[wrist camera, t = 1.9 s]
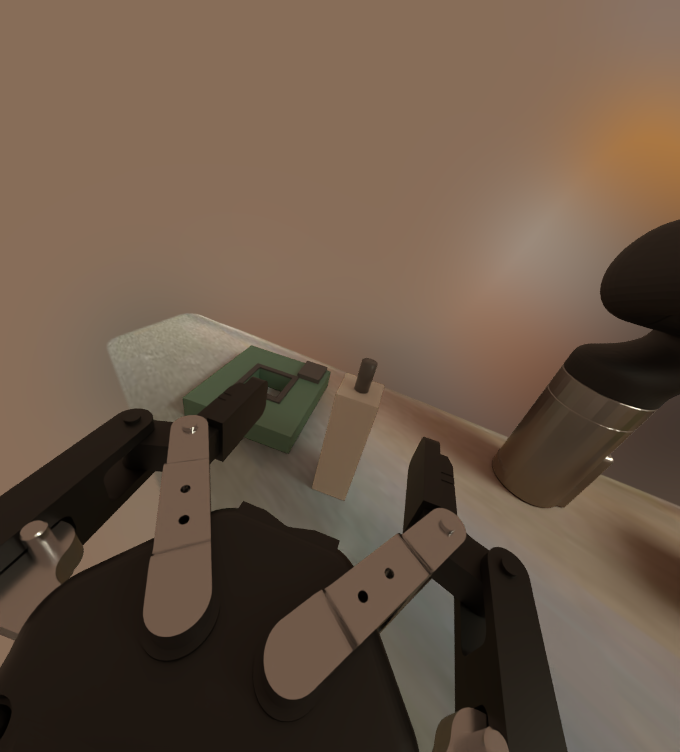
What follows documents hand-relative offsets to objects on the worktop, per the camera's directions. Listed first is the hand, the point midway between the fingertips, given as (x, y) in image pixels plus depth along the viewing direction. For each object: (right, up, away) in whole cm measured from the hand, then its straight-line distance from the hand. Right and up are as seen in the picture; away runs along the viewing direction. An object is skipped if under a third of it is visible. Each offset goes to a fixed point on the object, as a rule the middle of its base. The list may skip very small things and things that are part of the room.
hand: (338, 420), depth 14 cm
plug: (-1, -10, +21) cm, 23 cm away
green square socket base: (-11, -1, +31) cm, 33 cm away
